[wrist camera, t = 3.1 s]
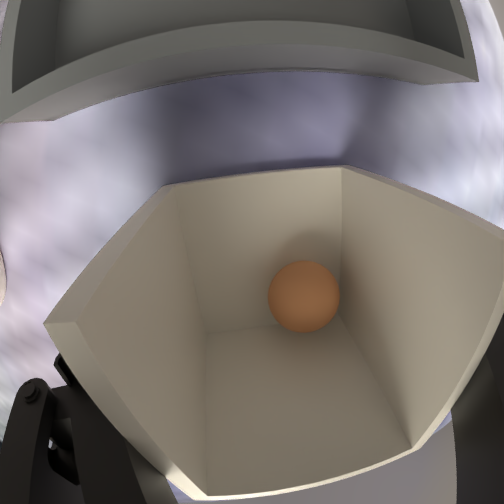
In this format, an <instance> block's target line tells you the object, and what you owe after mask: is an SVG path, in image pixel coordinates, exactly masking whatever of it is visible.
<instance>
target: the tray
mask: <svg viewBox="0 0 504 504" xmlns="http://www.w3.org/2000/svg"><path fill="white" fill-rule="evenodd" d="M280 71H311V72H334V73H347V74H358V75H367V76H375V77H382V78H389V79H395V80H400V81H406V82H411V83H416V84H420V85H431V84H443V83H461V82H479V79H478V72H477V66H476V60H475V55H474V50H473V46H472V41H471V37H470V33H469V29H468V25H467V22H466V18H465V15H464V12H463V9H462V6H461V3H460V0H9V1H8V5H7V9H6V14H5V19H4V24H3V30H2V37H1V44H0V124H5V123H17V122H33V121H54V120H56V119H58V118H61V117H63V116H66V115H68V114H71V113H73V112H76V111H78V110H81V109H84V108H86V107H89V106H92V105H95V104H98V103H101V102H104V101H107V100H110V99H113V98H117V97H120V96H123V95H127V94H130V93H134V92H138V91H142V90H146V89H150V88H154V87H158V86H163V85H168V84H173V83H178V82H183V81H189V80H195V79H201V78H208V77H215V76H223V75H233V74H243V73H257V72H280Z"/></svg>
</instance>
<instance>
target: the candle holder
mask: <svg viewBox="0 0 504 504" xmlns="http://www.w3.org/2000/svg"><path fill="white" fill-rule="evenodd" d="M5 293H6V274H5V268H4V263H3V258H2V255H1V251H0V306H1V305H2V303H3V300H4V298H5Z"/></svg>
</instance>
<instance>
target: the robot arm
mask: <svg viewBox="0 0 504 504" xmlns="http://www.w3.org/2000/svg"><path fill="white" fill-rule="evenodd" d="M54 366H55V368H56V369H57V371H58V372H59V374H60V375H61V377H62V378H63V379H64V381H65V382H66V384H67V385H66V386H61V387H57V388H52V389H51V388H50V387H49V386H48V384H47V383H46V382H45V381H44V380H43V379H40V378H34V379H30V380H28V381H26V382H25V383H24V384H23V385H22V386H21V387H20V388H19V390H18V392H17V394H16V397H15V400H14V403H13V406H12V409H11V413H10V416H9V420H8V423H7V427H6V430H5V434H4V438H3V443H2V447H1V452H0V504H178V502H177V500H176V498H175V496H174V494H173V492H172V490H171V488H170V486H169V484H168V482H167V479H166V477H165V476H164V475H163V474H162V473H160V472H159V471H158V470H157V469H156V468H155V467H154V466H153V465H152V464H151V463H149V462H148V461H147V460H146V459H145V458H144V457H143V456H142V455H141V454H140V453H139V452H138V451H137V450H136V449H135V448H134V447H133V446H132V445H131V444H130V443H129V442H128V441H127V439H126V438H125V437H124V436H122V435H121V433H120V432H119V431H118V430H117V429H116V428H115V427H114V426H113V424H112V423H111V422H110V421H109V420H108V419H107V417H106V416H105V415H104V414H103V413H102V411H101V410H100V409H99V408H98V406H97V405H96V404H95V403H94V401H93V400H92V399H91V397H90V396H89V395H88V393H87V392H86V391H85V389H84V388H83V387H82V385H81V384H80V383H79V381H78V380H77V378H76V377H75V375H74V374H73V372H72V371H71V369H70V368H69V366H68V365H67V363H66V362H65V360H64V359H63V357H62V355H61V354H60V353H59V354H58V356H57V357H56V359H55V362H54ZM451 414H452V421H453V429H454V439H455V451H456V466H457V467H456V468H457V504H504V313H503V315H502V318H501V320H500V323H499V325H498V327H497V329H496V332H495V334H494V336H493V338H492V340H491V342H490V344H489V346H488V348H487V350H486V352H485V354H484V356H483V357H482V359H481V361H480V363H479V365H478V367H477V368H476V370H475V372H474V374H473V375H472V377H471V379H470V380H469V382H468V384H467V385H466V387H465V388H464V390H463V392H462V393H461V395H460V396H459V398H458V399H457V401H456V402H455V404H454V405H453V407H452V408H451ZM49 439H50V440H51V441H52V442H53V443H52V447H51V448H49V447H48V445H49Z"/></svg>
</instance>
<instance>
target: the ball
mask: <svg viewBox="0 0 504 504" xmlns="http://www.w3.org/2000/svg"><path fill="white" fill-rule="evenodd" d="M339 301H340V291H339V286H338V283H337V281H336V279H335V277H334V276H333V275H332V273H331V272H330V271H329V270H328V269H327V268H325V267H324V266H322V265H321V264H318V263H316V262H312V261H297V262H293V263H290V264H288V265H286V266H285V267H283V268H282V269H281V270H280V271H279V272H278V273H277V274H276V275H275V276H274V278H273V279H272V281H271V284H270V286H269V290H268V304H269V308H270V311H271V313H272V315H273V316H274V318H275V319H276V321H277V322H278V323H279V324H281V325H282V326H283V327H285V328H286V329H288V330H291V331H294V332H300V333H307V332H313V331H316V330H318V329H320V328H322V327H324V326H325V325H326V324H327V323H329V322H330V321H331V319H332V318H333V317H334V315H335V313H336V311H337V309H338V306H339Z"/></svg>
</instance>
